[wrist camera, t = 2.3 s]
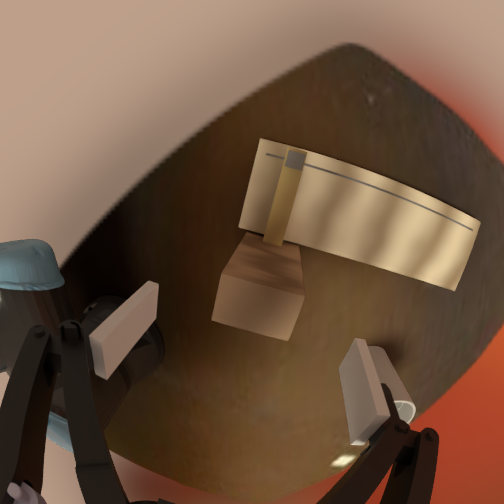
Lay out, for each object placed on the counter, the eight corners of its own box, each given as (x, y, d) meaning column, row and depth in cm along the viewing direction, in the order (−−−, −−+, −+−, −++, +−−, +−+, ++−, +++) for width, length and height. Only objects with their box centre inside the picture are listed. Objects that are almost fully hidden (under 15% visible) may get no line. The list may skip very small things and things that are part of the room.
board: (241, 223, 32) (238, 227, 30) (262, 140, 29) (260, 138, 27) (448, 285, 31) (454, 291, 29) (472, 219, 27) (480, 222, 25)
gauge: (241, 259, 33) (211, 320, 20) (270, 144, 29) (256, 126, 15) (288, 272, 33) (288, 341, 20) (322, 159, 28) (350, 152, 15)
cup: (395, 337, 34) (423, 394, 23) (387, 376, 36) (406, 432, 25) (343, 344, 35) (358, 407, 24) (340, 383, 38) (349, 443, 26)
